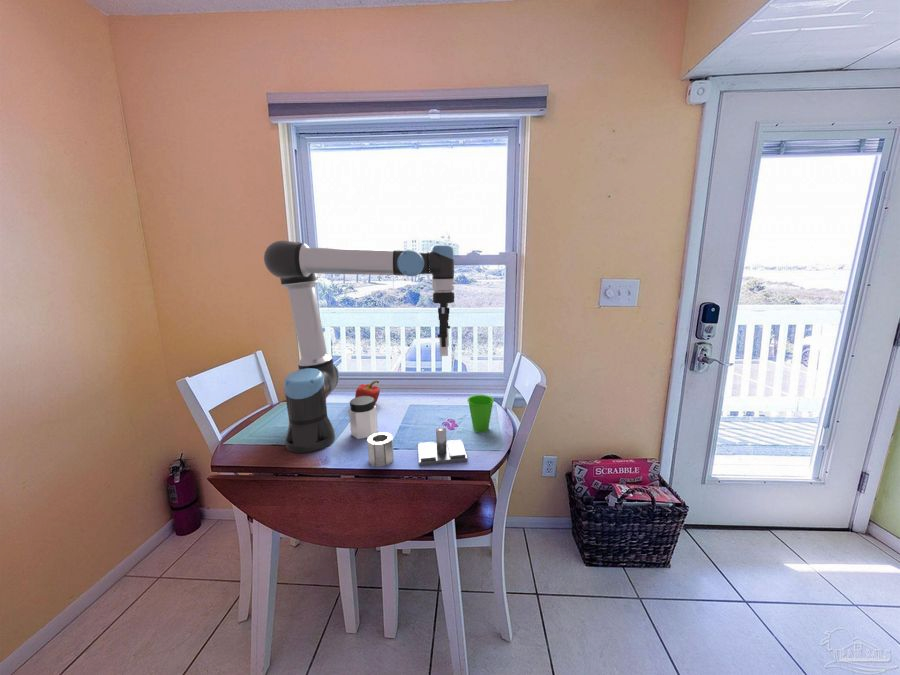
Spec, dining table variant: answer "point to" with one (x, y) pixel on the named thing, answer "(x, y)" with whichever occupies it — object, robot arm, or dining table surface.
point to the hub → (380, 449)
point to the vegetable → (368, 391)
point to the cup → (480, 411)
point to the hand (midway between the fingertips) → (444, 350)
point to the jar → (363, 417)
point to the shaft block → (441, 450)
